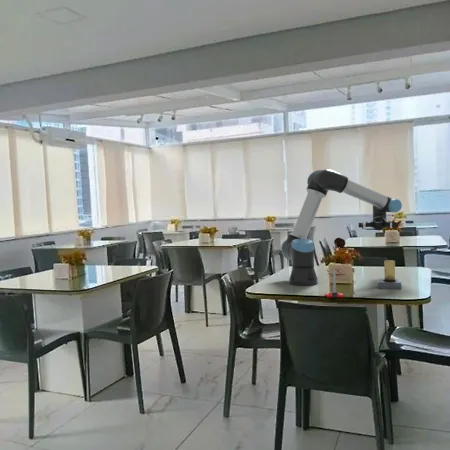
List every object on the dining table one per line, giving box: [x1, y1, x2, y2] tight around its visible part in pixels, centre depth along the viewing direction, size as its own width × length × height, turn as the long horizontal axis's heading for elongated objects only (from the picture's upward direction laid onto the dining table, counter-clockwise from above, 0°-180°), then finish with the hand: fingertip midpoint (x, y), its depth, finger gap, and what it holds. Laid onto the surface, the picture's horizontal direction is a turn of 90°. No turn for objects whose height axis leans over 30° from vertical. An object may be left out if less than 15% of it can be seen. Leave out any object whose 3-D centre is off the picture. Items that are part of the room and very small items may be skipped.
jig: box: [377, 278, 402, 290], centre depth 242 cm, size 11×10×3 cm
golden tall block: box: [383, 259, 396, 282], centre depth 241 cm, size 5×5×13 cm
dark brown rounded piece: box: [333, 237, 346, 249], centre depth 298 cm, size 15×15×20 cm
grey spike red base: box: [324, 269, 344, 299], centre depth 224 cm, size 8×13×9 cm
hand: (377, 225), depth 252 cm, fingers open, 13 cm apart
